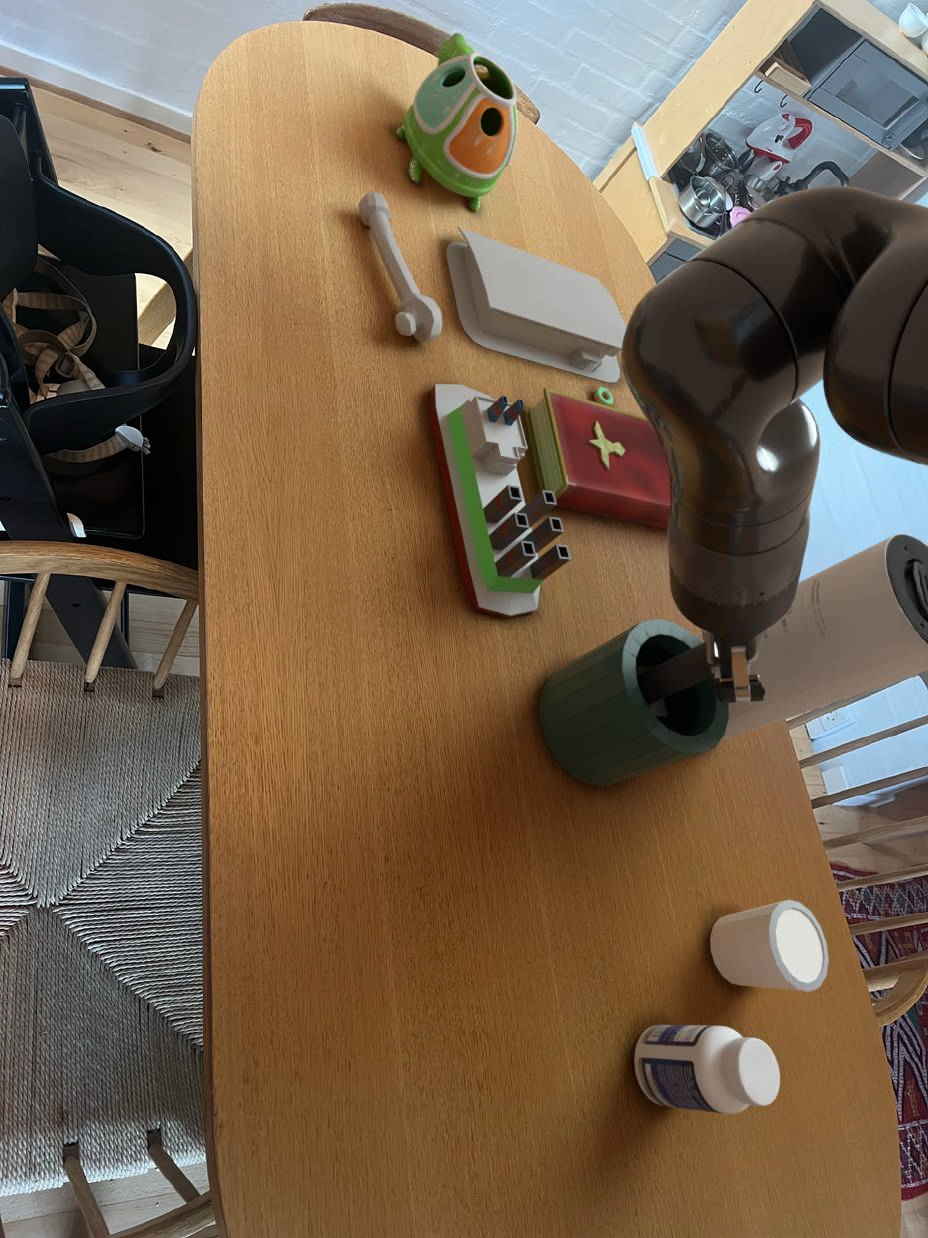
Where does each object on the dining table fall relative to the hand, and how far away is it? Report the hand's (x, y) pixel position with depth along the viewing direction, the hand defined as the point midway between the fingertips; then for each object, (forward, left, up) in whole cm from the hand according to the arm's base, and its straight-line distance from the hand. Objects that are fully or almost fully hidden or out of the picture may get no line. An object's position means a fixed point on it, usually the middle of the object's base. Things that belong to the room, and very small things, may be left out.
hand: (725, 667), depth 59 cm
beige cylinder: (+3, -11, -15) cm, 18 cm away
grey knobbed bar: (+47, +17, -15) cm, 52 cm away
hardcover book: (+28, -8, -15) cm, 33 cm away
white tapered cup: (-20, -10, -15) cm, 27 cm away
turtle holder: (+70, +9, -15) cm, 72 cm away
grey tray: (+50, -2, -15) cm, 52 cm away
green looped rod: (+39, -13, -14) cm, 43 cm away
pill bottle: (-27, +1, -15) cm, 31 cm away
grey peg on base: (0, +2, -10) cm, 10 cm away
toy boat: (+22, +10, -15) cm, 28 cm away
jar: (0, +2, -14) cm, 14 cm away
